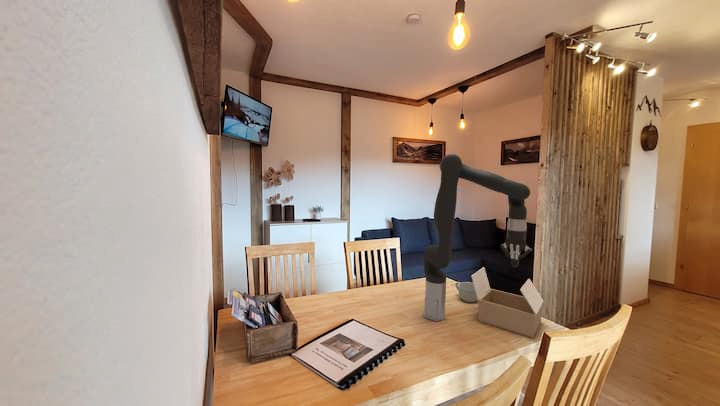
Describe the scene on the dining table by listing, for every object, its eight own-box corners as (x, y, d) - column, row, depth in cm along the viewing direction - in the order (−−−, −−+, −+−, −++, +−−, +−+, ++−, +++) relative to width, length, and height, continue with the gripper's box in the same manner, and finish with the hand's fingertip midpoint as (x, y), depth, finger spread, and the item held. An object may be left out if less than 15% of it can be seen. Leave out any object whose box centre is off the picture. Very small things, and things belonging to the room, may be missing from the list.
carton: (533, 339, 118) (535, 315, 117) (477, 321, 132) (478, 299, 131) (540, 322, 132) (542, 301, 131) (489, 308, 146) (490, 288, 145)
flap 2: (535, 314, 117) (536, 314, 117) (519, 289, 120) (521, 289, 120) (542, 301, 130) (543, 300, 130) (528, 278, 134) (529, 278, 133)
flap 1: (472, 275, 133) (471, 275, 133) (478, 299, 132) (477, 299, 132) (484, 267, 146) (483, 267, 146) (490, 288, 145) (489, 288, 145)
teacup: (484, 302, 152) (484, 287, 152) (467, 305, 148) (468, 290, 148) (465, 292, 165) (465, 278, 164) (449, 295, 161) (450, 281, 160)
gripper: (498, 228, 131) (496, 265, 132) (532, 231, 122) (529, 272, 124) (502, 226, 137) (500, 262, 138) (535, 229, 128) (532, 268, 130)
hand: (514, 266), depth 131 cm, fingers closed
